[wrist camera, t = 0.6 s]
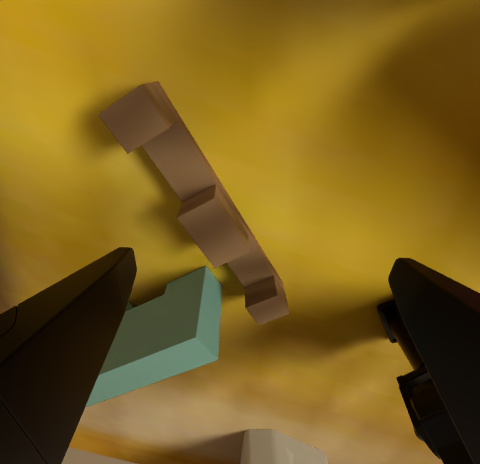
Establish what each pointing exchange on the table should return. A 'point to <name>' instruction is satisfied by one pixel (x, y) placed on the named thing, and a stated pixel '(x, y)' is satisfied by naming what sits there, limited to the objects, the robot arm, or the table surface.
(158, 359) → the teal plate
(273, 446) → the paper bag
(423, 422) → the robot arm
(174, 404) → the table surface
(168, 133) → the walnut rail
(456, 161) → the table surface
